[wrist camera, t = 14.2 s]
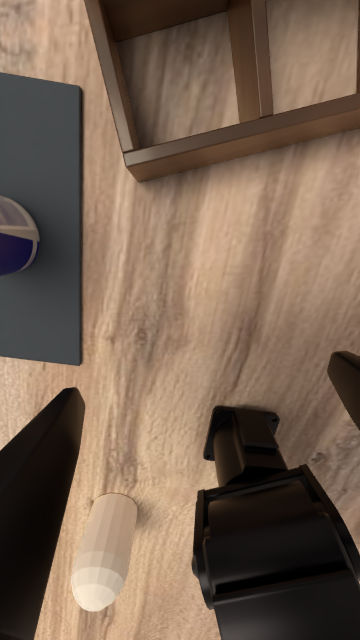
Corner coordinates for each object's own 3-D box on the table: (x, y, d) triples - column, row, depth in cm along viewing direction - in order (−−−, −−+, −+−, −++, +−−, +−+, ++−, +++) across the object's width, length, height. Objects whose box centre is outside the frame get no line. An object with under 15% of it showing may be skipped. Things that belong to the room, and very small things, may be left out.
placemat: (81, 363, 22) (79, 366, 21) (-21, 351, 21) (-25, 353, 21) (81, 89, 15) (79, 85, 15) (-65, 64, 15) (-72, 59, 14)
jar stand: (366, 126, 16) (498, 49, 9) (137, 182, 17) (110, 149, 10) (372, -50, 13) (563, -332, 7) (101, 30, 14) (34, -143, 8)
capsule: (131, 490, 27) (112, 588, 20) (142, 521, 29) (129, 621, 21) (86, 496, 28) (50, 594, 20) (99, 526, 29) (71, 627, 22)
